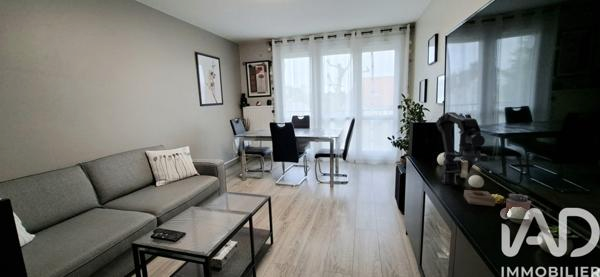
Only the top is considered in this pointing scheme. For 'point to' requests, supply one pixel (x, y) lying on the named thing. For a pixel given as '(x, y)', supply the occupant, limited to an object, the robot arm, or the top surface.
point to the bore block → (479, 197)
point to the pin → (464, 169)
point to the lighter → (517, 202)
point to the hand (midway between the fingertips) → (464, 173)
